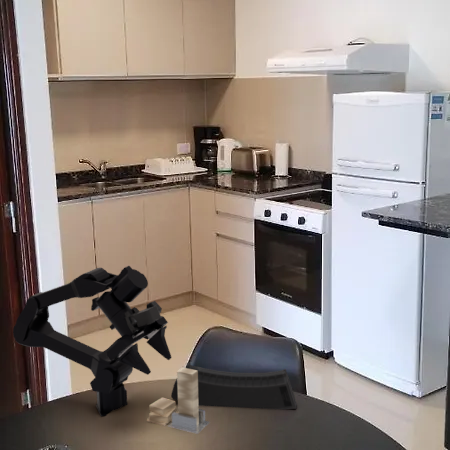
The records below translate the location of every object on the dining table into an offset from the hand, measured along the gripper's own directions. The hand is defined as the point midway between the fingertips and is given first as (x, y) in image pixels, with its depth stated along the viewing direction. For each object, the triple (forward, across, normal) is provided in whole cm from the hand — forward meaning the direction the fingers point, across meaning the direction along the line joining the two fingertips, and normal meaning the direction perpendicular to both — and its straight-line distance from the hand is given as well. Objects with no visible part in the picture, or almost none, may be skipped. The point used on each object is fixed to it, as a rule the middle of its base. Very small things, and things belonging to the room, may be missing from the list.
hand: (160, 366), depth 152 cm
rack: (+15, 0, +4) cm, 16 cm away
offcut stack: (+10, 0, +9) cm, 14 cm away
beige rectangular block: (+14, 0, +3) cm, 15 cm away
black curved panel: (+19, +13, 0) cm, 23 cm away
